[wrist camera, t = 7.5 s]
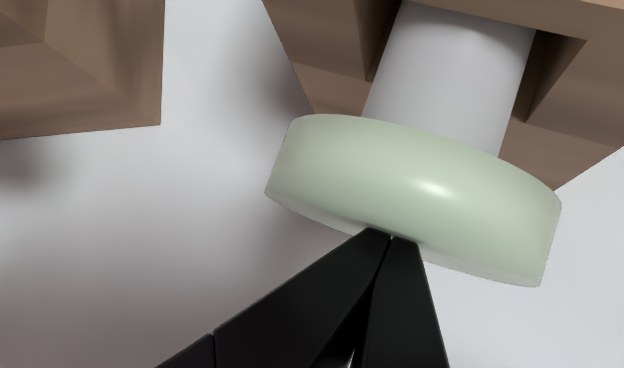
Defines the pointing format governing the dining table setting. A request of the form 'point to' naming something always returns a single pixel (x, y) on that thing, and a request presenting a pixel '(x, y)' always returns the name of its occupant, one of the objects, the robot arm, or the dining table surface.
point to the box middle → (533, 87)
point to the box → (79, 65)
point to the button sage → (430, 151)
